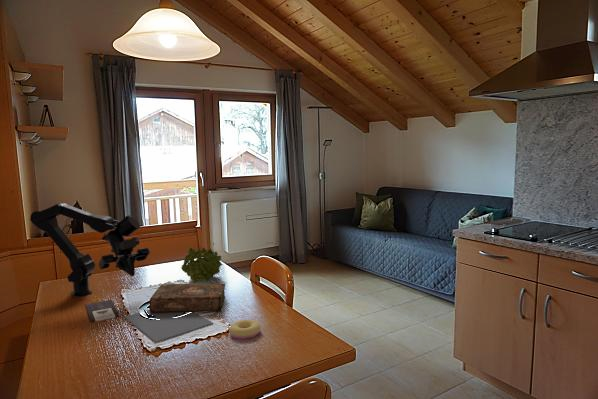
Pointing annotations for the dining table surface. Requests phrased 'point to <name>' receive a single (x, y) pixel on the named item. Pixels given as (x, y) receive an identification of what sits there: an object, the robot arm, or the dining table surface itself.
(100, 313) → the chocolate bar
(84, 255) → the robot arm
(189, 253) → the green leafy plant
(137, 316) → the mat
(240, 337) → the donut
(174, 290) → the book
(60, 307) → the dining table surface
